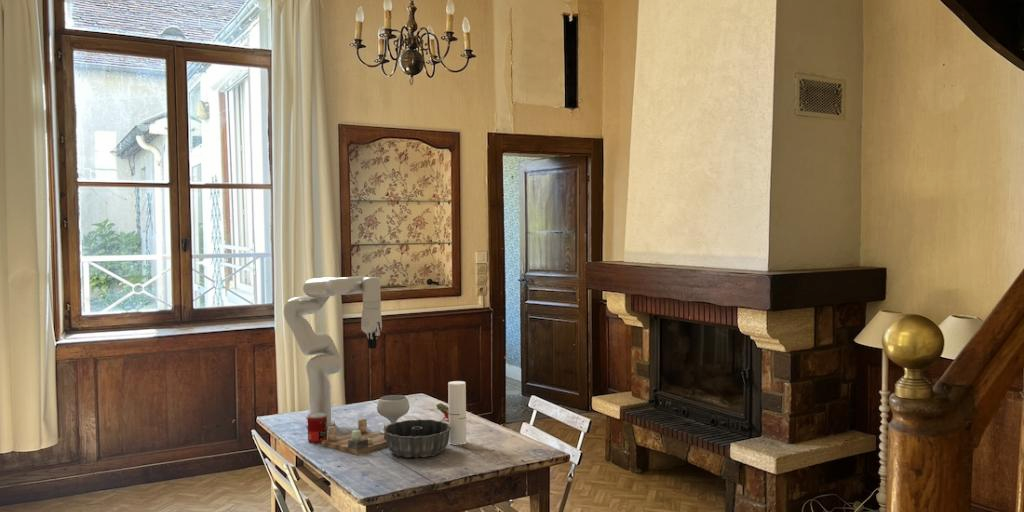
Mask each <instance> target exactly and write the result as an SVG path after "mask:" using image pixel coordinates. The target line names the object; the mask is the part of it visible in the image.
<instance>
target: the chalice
mask: <svg viewBox="0 0 1024 512" xmlns="http://www.w3.org/2000/svg"><path fill="white" fill-rule="evenodd" d="M376 410H377V413H378V415H380V416H381V417H383V418H386V419H387V420H388V421H390V424H394V423H395V422H398V420H399V419H400V418H402V417H403V416H405V415H407V413H408V412H409V410H410V403H409V400H408V398H407V396H405V395H402V394H390V395H383V396H380V397H379V399H378V401H377V404H376ZM383 429H384V428H382V429H380V430H379V434H383V435H384V430H383Z"/></svg>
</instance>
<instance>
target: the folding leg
mask: <svg viewBox="0 0 1024 512" xmlns="http://www.w3.org/2000/svg"><path fill="white" fill-rule="evenodd" d="M351 433H352V440H353V441H357V442H358V441H361V431H360V430H358V429H354V430H352V431H351ZM368 444H372V438H368Z"/></svg>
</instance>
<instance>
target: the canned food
mask: <svg viewBox="0 0 1024 512" xmlns="http://www.w3.org/2000/svg"><path fill="white" fill-rule="evenodd" d="M306 416H307V422H306V423H308V427H307V441H308V442H309V443H311V444H320V443H321V444H322V441H324V440H328V428H327V414H325V413H311V414H309V413H308V414H307V415H306Z"/></svg>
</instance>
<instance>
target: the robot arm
mask: <svg viewBox="0 0 1024 512" xmlns="http://www.w3.org/2000/svg"><path fill="white" fill-rule="evenodd" d="M302 285H303V286H302V291H303V293H304V294H305V295H304V296H295V297H292V298H290V299H288V300H287V301H286V302H285V304H284V306H283V307H284V308H283V317H284V319H285V320H284V321H285V322H286V323H287V325H288V327H289V328H290V330H291V332H292V333H293V336H294V337H295V340H296V342H297V345H298V346H299V347H298V348H299V349H300V351H301V353H302V354H303V355H304V356H308V357H309V356H312V357H311V358H310V359H308V361H307V363H306V367H305V369H306V375H307V381H308V400H309V401H308V405H309V407H308V409H309V413H308V415H309V414H311V413H325V414H327V429H328V427H330V426H336V423H335V421H334V420H332V392H331V391H332V389H331V388H332V387H331V386H332V385H331V382H330V380H329V378H328V376H330V375H335V374H338V373H339V372H340V371H341V370H342V368H343V361H342V360H343V359H342V357H341V355H340V353H339V350H338V348H337V346H336V344H335V342H334V340H333V338H332V337H331V336H330V335H329V334H327V332H317V333H316V332H315V331H314V329H313V327H312V325H311V324H310V322H309V321H308V320H307V319H306V318H305V317H304V316H305V315H313V314H316V313H319V312H320V311H321V310H322V309H323V308H324V306H325V305H326V303H327V302H328V301H329V299H330V297H336V296H345V295H346V296H348V295H357V294H362V311H361V319H360V320H361V321H360V322H361V325H360V329H361V331H362V332H363V333H364V334H365V335H366V337H367V339H368V340H367V348H368V349H369V350H370V349H371V350H372V349H376V348H377V345H378V344H377V340H378V336H381V332H382V329H383V328H382V327H383V323H382V322H383V321H382V311H381V308H382V307H381V299H382V297H381V279H380V278H379V277H377V276H365V275H359V276H358V275H356V276H345V277H335V276H334V277H333V276H327V277H316V278H315V277H314V278H310V279H307V280H306V281H305V282H304V284H302ZM315 355H316V356H315ZM308 415H306V416H305V419H307V416H308ZM305 427H306V428H308V422H306V424H305Z"/></svg>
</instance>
